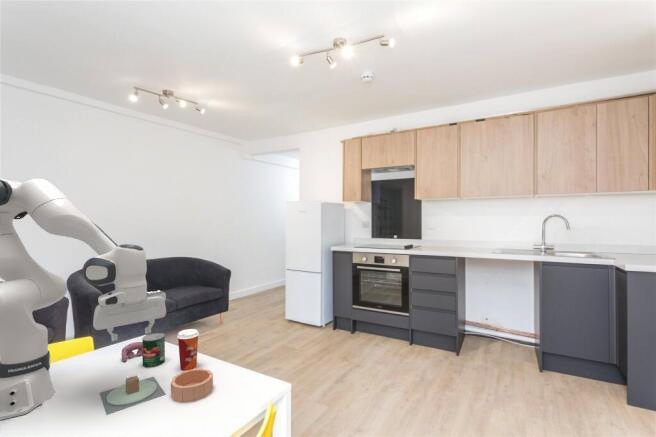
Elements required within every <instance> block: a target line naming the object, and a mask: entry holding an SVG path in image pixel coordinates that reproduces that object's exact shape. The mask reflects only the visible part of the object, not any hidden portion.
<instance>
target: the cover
mask: <svg viewBox="0 0 656 437" xmlns="http://www.w3.org/2000/svg"><path fill="white" fill-rule="evenodd" d="M141 380H142V381H140V378H139V377H138V375H133V376H130V377H127V378H125V383H124V384H122V385H120V386H117V387H114V388H115V389H114V388H113V389H114V390H112V391H111V392H110V393H109V394H108V395H107V398H106V401H107V403H108V404H109V405H112V406H125V405H131V404H134V403H137V402H140V401H143V400H145V399H147V398H148V397H150V396H151V395H153V394H154V393H155V391H156V390H157V384H156V383H155V382H153V381H148V380H143V379H141Z"/></svg>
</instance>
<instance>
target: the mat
mask: <svg viewBox="0 0 656 437" xmlns="http://www.w3.org/2000/svg"><path fill="white" fill-rule="evenodd" d="M142 380H148V381H153V382H155V383H156V384H157V390H156V391H155V393H154V394H153V395H151V396H150V397H148V398H147V399H145V400H143V401H140V402H137V403H134V404H131V405H125V406H112V405H109V404H108V403H107V401H106V398H107V395H108V394H109V393H110V392H111V391H112V390H114V389H115V388H116V387H114V388H111V389H107V390H104V391H101V392H99V396H100V399H101V403H102V405H103V409H104V412H105V415H106V416H108V415H111V414H114V413H117V412H119V411H123V410H125V409H128V408H131V407H134V406H137V405H140V404H142V403H146V402H148V401H152V400H155V399H157V398H160V397H163V396H165V395H167V394H166V393H165V392H166V391H164V389H163V388H162V387H161V386H160V383H159V382H158V381H157V379H156V378H155V377H154V376H150V377H147V378H143V379H141V380H140V379H139V381H142Z"/></svg>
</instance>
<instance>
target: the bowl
mask: <svg viewBox="0 0 656 437" xmlns="http://www.w3.org/2000/svg"><path fill="white" fill-rule="evenodd" d="M213 388H214V373H213V372H212V371H211V370H210V369H207V368H194V369H192V370H188V371H183V372H179V373H178V374H177V375H175V376H173V377H172V380H171V381H170V397H171V399H172V400H173V402H176V403H177V402H178V403H182V404H184V403H192V402H193V403H194V402H196V401H199V400H201V399H205V398H206V397H207V396H208V395H210V394H211V393H212V391H213Z"/></svg>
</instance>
